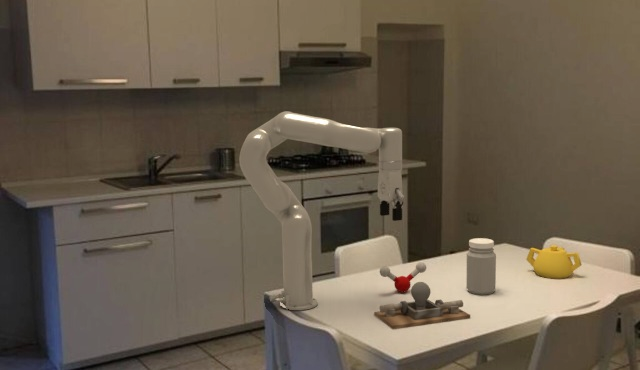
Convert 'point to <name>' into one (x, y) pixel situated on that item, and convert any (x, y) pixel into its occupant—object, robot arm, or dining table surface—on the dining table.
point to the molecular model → (402, 277)
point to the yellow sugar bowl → (553, 262)
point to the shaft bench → (420, 313)
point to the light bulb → (420, 294)
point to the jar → (481, 266)
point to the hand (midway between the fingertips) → (390, 217)
